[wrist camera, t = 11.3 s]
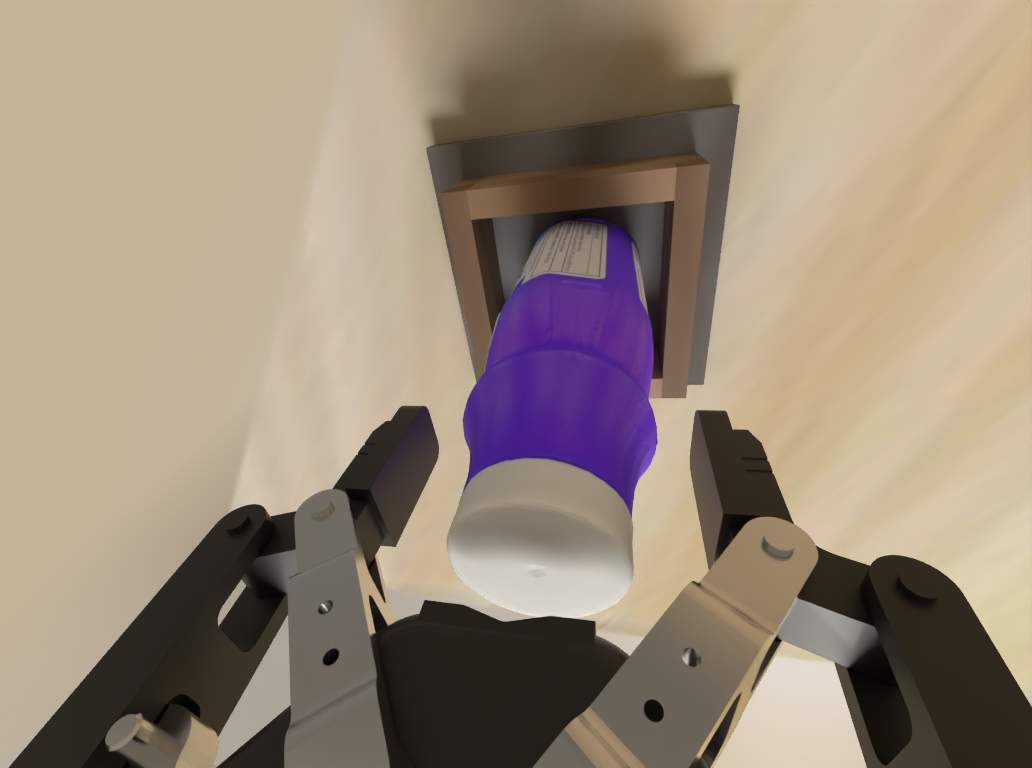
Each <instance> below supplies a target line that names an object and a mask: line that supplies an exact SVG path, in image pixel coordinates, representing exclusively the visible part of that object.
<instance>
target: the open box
mask: <svg viewBox="0 0 1032 768" xmlns="http://www.w3.org/2000/svg"><path fill="white" fill-rule="evenodd" d="M739 106H740V105H735V104H730V105H723V106H716V107H709V108H701V109H694V110H687V111H679V112H672V113H665V114H658V115H650V116H643V117H636V118H629V119H621V120H614V121H607V122H599V123H592V124H585V125H578V126H570V127H563V128H556V129H549V130H541V131H534V132H527V133H520V134H512V135H505V136H498V137H490V138H483V139H476V140H469V141H461V142H454V143H447V144H440V145H433V146H431V147H428V148H426V150H427V155H428V160H429V164H430V169H431V174H432V178H433V183H434V187H435V192H436V197H437V201H438V206H439V211H440V215H441V220H442V225H443V229H444V234H445V238H446V243H447V248H448V252H449V257H450V262H451V266H452V271H453V275H454V280H455V285H456V289H457V294H458V299H459V303H460V308H461V313H462V317H463V322H464V326H465V331H466V336H467V340H468V345H469V350H470V354H471V359H472V364H473V368H474V373H475V377H476V382H478V381H479V379H480V378H481V376H482V375H483V374H484V370H485V364H486V358H487V354H488V350H489V345H490V341H491V337H492V334H493V330H494V327H495V323H496V320H497V318H498V315H499V313H500V312H501V310H502V308H503V306H504V304H505V303H506V301H507V300H508V299H509V297H510V295H511V293H512V291H513V289H514V287H515V285H516V283H517V280H518V278H519V277H520V275H521V273H522V271H523V268H524V266H525V264H526V262H527V260H528V258H529V256H530V254H531V250H532V247H533V246H534V244H535V242H536V240H537V238H538V237H539V236H540V234H541V233H542V232H543V231H544V230H545V229H546V228H547V227H548V226H550V225H551V224H553V223H555V222H557V221H560V220H563V219H568V218H578V217H589V218H596V219H603V220H605V221H606V222H609V223H613V224H616V225H618V226H620V227H622V228H623V229H624V230H626V231H627V232H628V233H629V234H630V235H631V237H632V238H633V239H634V241H635V243H636V245H637V247H638V251H639V254H640V263H641V272H642V279H643V286H644V292H645V298H646V304H647V310H648V316H649V318H650V321H651V326H652V336H653V348H654V359H653V371H652V379H651V386H650V392H649V398H686V391H687V385H703V384H704V377H705V369H706V361H707V353H708V346H709V338H710V330H711V323H712V315H713V307H714V299H715V292H716V284H717V276H718V268H719V261H720V253H721V245H722V238H723V230H724V222H725V214H726V207H727V199H728V191H729V183H730V176H731V168H732V160H733V153H734V145H735V137H736V129H737V122H738V114H739Z"/></svg>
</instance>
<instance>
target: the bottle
mask: <svg viewBox="0 0 1032 768" xmlns="http://www.w3.org/2000/svg"><path fill="white" fill-rule="evenodd" d="M653 359H654V348H653V336H652V326H651V321H650V318H649V316H648V310H647V304H646V298H645V292H644V286H643V279H642V272H641V263H640V254H639V251H638V247H637V245H636V243H635V241H634V239H633V238H632V237H631V235H630V234H629V233H628V232H627V231H626V230H624V229H623V228H622V227H620V226H618V225H616V224H613V223H609V222H606V221H605V220H603V219H596V218H589V217H578V218H568V219H563V220H560V221H557V222H555V223H553V224H551V225H550V226H548V227H547V228H546V229H545V230H544V231H543V232H542V233H541V234H540V236H539V237H538V238H537V240H536V242H535V244H534V246H533V247H532V250H531V254H530V256H529V258H528V260H527V262H526V264H525V266H524V268H523V271H522V273H521V275H520V277H519V278H518V280H517V283H516V285H515V287H514V289H513V291H512V293H511V295H510V297H509V299H508V300H507V301H506V303H505V304H504V306H503V308H502V310H501V312H500V313H499V315H498V318H497V320H496V323H495V327H494V330H493V334H492V337H491V341H490V345H489V350H488V354H487V358H486V364H485V370H484V374H483V375H482V376H481V378H480V379H479V381H478V382H477V384H476V385H475V387H474V388H473V390H472V391H471V394H470V396H469V398H468V401H467V404H466V408H465V412H464V417H463V427H464V437H465V440H466V442H467V445H468V447H469V450H470V466H469V473H468V478H467V481H466V484H465V487H464V490H463V493H462V496H461V499H460V502H459V506H458V509H457V511H456V514H455V517H454V519H453V522H452V524H451V527H450V529H449V533H448V537H447V553H448V557H449V560H450V562H451V564H452V566H453V568H454V570H455V572H456V573H457V574H458V576H459V577H460V578H461V579H462V581H463V582H464V583H465V584H467V585H468V586H469V587H470V588H472V589H473V590H474V591H475V592H477V593H478V594H479V595H480V596H482V597H484V598H485V599H487V600H489V601H491V602H492V603H494V604H496V605H499V606H501V607H504V608H507V609H509V610H512V611H515V612H519V613H522V614H527V615H531V616H536V617H545V616H556V617H564V618H575V617H583V616H587V615H590V614H594V613H597V612H600V611H602V610H605V609H607V608H609V607H611V606H613V605H614V604H616V603H617V602H618V601H619V600H620V599H621V598H622V597H623V596H624V595H625V594H626V592H627V591H628V589H629V587H630V585H631V583H632V579H633V550H632V539H633V523H632V507H633V499H634V491H635V487H636V484H637V482H638V479H639V478H640V477H641V476H642V475H643V473H644V472H645V471H646V470H647V469H648V467H649V465H650V464H651V461H652V458H653V456H654V455H655V450H656V445H657V443H658V442H657V427H656V422H655V418H654V414H653V410H652V408H651V405H650V403H649V400H648V398H649V392H650V386H651V379H652V371H653Z"/></svg>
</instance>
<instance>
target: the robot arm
mask: <svg viewBox="0 0 1032 768" xmlns="http://www.w3.org/2000/svg"><path fill="white" fill-rule="evenodd" d="M438 454H439V445H438V440H437V437H436V434H435V430H434V427H433V424H432V420H431V417H430V414H429V411H428V409H427V407H425V406H401V407H400V408H399V409H398V411H397V412H396V414H395V415H394V417H393V418H392V420H391V421H386V422H384V423H383V424H382V425H381V426H379V427H378V428H377V429H376V430H374V431H373V432H372V434H371V435H370V436H369V438H368V439H367V441H366V442H365V445H363V446H362V448H361V449H360V451H359V452H358V455H356V456H355V458H354V459H353V460H352V462H351V463H350V465H349V466H348V468H347V469H346V470H345V472H344V473H343V475H342V476H341V477H340V479H339V480H338V482H337V483H336V484H335V486H334V487H333V489H329V490H324V491H321V492H319V493H317V494H314V495H313V496H311V497H310V498H308V499H307V500H306V501H305V502H303V503H302V505H301V506H300V507H299V508H298V510H297V511H295V512H290V513H285V514H280V515H276V516H271V517H270V515H269V514H268V512H267V511H266V509H265V508H264V507H263V506H261V505H256V504H252V505H246V506H243V507H240V508H238V509H236V510H234V511H232V512H230V513H228V514H227V515H226V516H224V517H223V518H222V519H221V520H220V521H219V522H218V523H217V524H216V525H215V526H214V527H213V528H212V530H211V531H210V532H209V533H208V534H207V535H206V537H205V538H204V539H203V540H202V541H201V543H200V544H199V545H198V546H197V547H196V548H195V549H194V551H193V552H192V553H191V554H190V556H188V558H187V559H186V560H185V561H184V562H183V564H182V565H181V566H180V567H179V568H178V569H177V571H176V572H175V573H174V574H173V575H172V576H171V578H170V579H169V580H168V581H167V582H166V584H165V585H164V586H163V587H162V588H161V589H160V591H159V592H158V593H157V594H156V595H155V596H154V598H153V599H152V600H151V601H150V602H149V603H148V605H147V606H146V607H145V608H144V609H143V611H142V612H141V613H140V614H139V615H138V616H137V618H136V619H135V620H134V621H133V622H132V623H131V625H130V626H129V627H128V628H127V629H126V631H125V632H124V633H123V634H122V635H121V636H120V638H119V639H118V640H117V641H116V642H115V643H114V645H113V646H112V647H111V648H110V650H108V652H107V653H106V654H105V655H104V656H103V657H102V659H101V660H100V661H99V662H98V663H97V665H96V666H95V667H94V668H93V669H92V670H91V672H90V673H89V674H88V675H87V676H86V678H85V679H84V680H83V681H82V682H81V683H80V685H79V686H78V687H77V688H76V689H75V690H74V692H73V693H72V694H71V695H70V696H69V697H68V699H67V700H66V701H65V702H64V703H63V704H62V706H61V707H60V708H59V709H58V710H57V712H56V713H55V714H54V715H53V716H52V717H51V719H50V720H49V721H48V722H47V723H46V724H45V726H44V727H43V728H42V729H41V730H40V732H39V733H38V734H37V735H36V736H35V737H34V738H33V740H32V741H31V742H30V743H29V744H28V746H27V747H26V748H25V749H24V750H23V751H22V753H21V754H20V755H19V756H18V757H17V758H16V760H15V761H14V762H13V763H12V764H11V766H10V767H9V768H713V767H714V765H715V763H716V762H717V760H718V758H719V756H720V755H721V753H722V751H723V749H724V748H725V746H726V744H727V742H728V741H729V739H730V737H731V735H732V734H733V732H734V730H735V728H736V726H737V724H738V722H739V720H740V718H741V716H742V714H743V712H744V710H745V708H746V706H747V704H748V702H749V700H750V698H751V697H752V695H753V693H754V691H755V690H756V688H757V686H758V685H759V683H760V681H761V680H762V678H763V676H764V674H765V673H766V671H767V669H768V667H769V666H770V664H771V662H772V660H773V659H774V657H775V655H776V654H777V652H778V650H779V648H780V647H781V645H782V643H783V641H785V642H788V643H790V644H792V645H795V646H797V647H799V648H802V649H804V650H807V651H809V652H811V653H814V654H816V655H819V656H821V657H823V658H826V659H828V660H831V661H833V662H834V663H835V666H836V670H837V673H838V676H839V679H840V682H841V686H842V689H843V692H844V695H845V698H846V701H847V705H848V708H849V711H850V714H851V718H852V721H853V724H854V727H855V730H856V733H857V737H858V740H859V743H860V746H861V750H862V753H863V756H864V759H865V762H866V766H867V768H1032V707H1031V705H1030V703H1029V702H1028V700H1027V698H1026V697H1025V695H1024V694H1023V692H1022V690H1021V689H1020V687H1019V685H1018V684H1017V682H1016V680H1015V679H1014V677H1013V675H1012V674H1011V672H1010V670H1009V669H1008V667H1007V665H1006V664H1005V662H1004V660H1003V659H1002V657H1001V655H1000V654H999V652H998V650H997V649H996V647H995V646H994V644H993V642H992V641H991V639H990V637H989V636H988V634H987V632H986V631H985V629H984V627H983V626H982V624H981V622H980V621H979V619H978V617H977V616H976V614H975V612H974V611H973V609H972V607H971V606H970V604H969V602H968V601H967V599H966V598H965V596H964V594H963V593H962V591H961V590H960V589H959V588H958V586H957V585H956V584H955V583H954V582H953V581H952V580H950V579H949V578H948V577H947V576H946V575H944V574H943V573H942V572H940V571H939V570H937V569H935V568H934V567H932V566H930V565H928V564H926V563H924V562H921V561H919V560H916V559H913V558H909V557H905V556H899V555H888V556H883V557H880V558H878V559H876V560H875V561H874V562H872V564H871V566H869V565H866V564H863V563H860V562H857V561H853V560H850V559H847V558H844V557H841V556H838V555H835V554H832V553H829V552H827V551H825V550H823V549H821V548H819V547H818V546H816V545H815V543H814V542H813V540H812V539H811V538H810V536H809V535H808V534H807V533H806V532H804V531H803V530H802V529H801V528H799V527H798V526H796V525H794V523H793V521H792V519H791V516H790V514H789V511H788V509H787V506H786V504H785V501H784V499H783V496H782V494H781V491H780V489H779V486H778V484H777V481H776V479H775V476H774V474H772V469H771V466H770V463H769V461H767V456H766V453H765V451H764V448H763V446H762V443H761V442H760V441H759V440H758V439H757V438H755V437H754V436H753V435H752V434H751V433H750V432H749V431H748V430H732V427H731V424H730V421H729V418H728V415H727V412H726V411H709V410H697V411H696V412H695V417H694V425H693V433H692V442H691V450H690V470H691V477H692V482H693V487H694V493H695V498H696V504H697V509H698V514H699V520H700V525H701V530H702V536H703V541H704V547H705V552H706V557H707V563H708V568H709V571H708V573H707V574H706V575H705V577H704V578H703V579H702V580H701V581H700V582H699V583H697V582H695V581H692V582H691V583H689V584H688V585H687V586H686V587H685V588H684V589H683V590H682V592H681V593H680V594H679V595H678V597H677V598H676V599H675V600H674V602H673V603H672V604H671V605H670V607H669V608H668V609H667V610H666V612H665V613H664V614H663V615H662V617H661V618H660V619H659V620H658V622H657V623H656V624H655V625H654V627H653V628H652V629H651V630H650V632H649V633H648V634H647V635H646V637H645V638H644V639H643V640H642V642H641V643H640V644H639V645H638V647H637V648H636V649H635V650H634V652H633V653H632V654H631V655H630V656H629V655H628V654H627V653H625V652H624V651H623V650H621V649H620V648H619V647H617V646H616V645H614V644H612V643H611V642H609V641H607V640H605V639H603V638H601V637H598V636H596V624H595V621H588V620H580V619H572V618H564V617H556V616H545V617H538V618H531V619H524V620H516V621H509V622H503V621H499V620H497V619H495V618H492V617H490V616H488V615H486V614H483V613H481V612H479V611H476V610H474V609H472V608H470V607H467V606H465V605H460V604H452V603H444V602H436V601H428V600H425V601H424V603H423V606H422V609H421V611H420V614H416V615H412V616H409V617H405V618H403V619H400V620H399V621H396V622H395V621H394V618H393V615H392V612H391V608H390V604H389V600H388V596H387V592H386V588H385V584H384V580H383V576H382V572H381V568H380V564H379V560H378V557H377V555H376V553H377V551H378V550H379V548H380V546H392V547H396V545H397V543H398V541H399V539H400V537H401V534H402V532H403V530H404V528H405V526H406V524H407V522H408V520H409V518H410V516H411V514H412V512H413V510H414V508H415V505H416V503H417V501H418V499H419V497H420V495H421V493H422V491H423V489H424V487H425V485H426V483H427V481H428V479H429V477H430V474H431V472H432V470H433V468H434V466H435V464H436V462H437V459H438ZM241 579H242V581H243V582H244V583H245V584H246V588H245V589H244V590H243V592H242V593H241V595H240V596H239V598H238V599H237V601H236V602H235V603H234V605H233V606H232V608H231V609H230V611H229V612H228V614H227V615H226V617H225V618H224V620H223V621H222V622H221V624H220V625H219V627H218V615H219V612H220V609H221V608H222V606H223V605H224V603H225V602H226V600H227V599H228V597H229V596H230V595H231V593H232V592H233V590H234V589H235V587H236V586H237V585H238V583H239V582H240V580H241ZM287 615H288V624H289V659H290V696H291V705H290V706H289V707H288V708H287V709H285V710H284V711H283V712H282V713H281V714H279V715H278V716H277V717H276V718H275V719H274V720H272V721H271V722H270V723H269V724H268V725H267V726H265V727H264V728H263V729H262V730H261V731H259V732H258V733H257V734H256V735H255V736H253V737H252V738H251V739H250V740H249V741H248V742H246V743H245V744H244V745H243V746H241V747H240V748H239V749H238V750H237V751H236V752H234V753H233V754H232V755H231V756H230V757H228V758H227V759H226V760H225V761H224V762H223V763H222V764H220V765H219V766H218V767H215V765H214V762H215V759H216V756H217V751H218V736H219V734H220V733H221V731H222V729H223V727H224V726H225V724H226V722H227V720H228V719H229V717H230V715H231V713H232V712H233V710H234V708H235V706H236V705H237V703H238V701H239V699H240V698H241V696H242V694H243V692H244V690H245V689H246V687H247V685H248V683H249V682H250V680H251V678H252V676H253V675H254V673H255V671H256V669H257V668H258V666H259V664H260V662H261V661H262V659H263V657H264V655H265V654H266V652H267V650H268V648H269V647H270V645H271V643H272V641H273V639H274V638H275V636H276V634H277V632H278V631H279V629H280V627H281V625H282V624H283V622H284V620H285V618H286V617H287Z"/></svg>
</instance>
